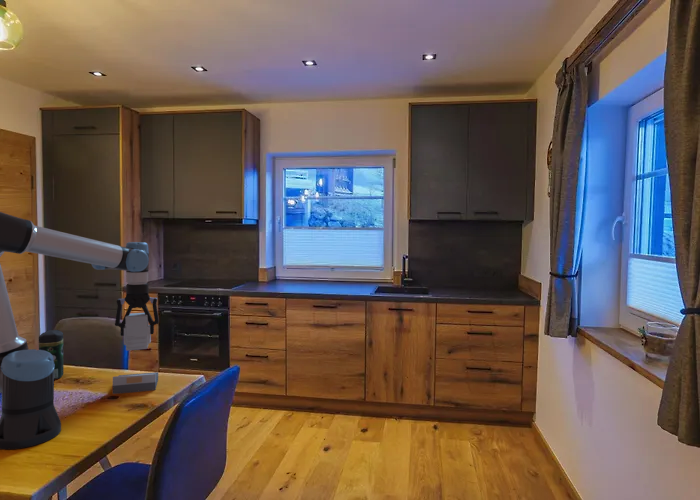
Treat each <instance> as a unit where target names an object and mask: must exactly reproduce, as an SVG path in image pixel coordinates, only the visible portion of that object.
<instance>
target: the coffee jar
mask: <svg viewBox="0 0 700 500" xmlns="http://www.w3.org/2000/svg"><path fill="white" fill-rule="evenodd" d="M38 350H44V351H47V352H49V353H51V354H52V356H53V359H54V364H55V368H54V380H57V379H61V378H62V377H63V375H64V332H63V331H61V330H59V329H51V330H50V329H49V330H46V331H45V332H42V333H40V335H39V336H38Z"/></svg>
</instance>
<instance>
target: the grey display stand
mask: <svg viewBox="0 0 700 500" xmlns="http://www.w3.org/2000/svg"><path fill="white" fill-rule="evenodd" d="M158 382H159V372H158V371H155V372H154V371H153V372H145V373H131V374H118V375H117V376H112V395H118V394H128V393H138V392H139V393H140V392H149V391H156V390H157V385H158Z"/></svg>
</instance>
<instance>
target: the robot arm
mask: <svg viewBox="0 0 700 500" xmlns="http://www.w3.org/2000/svg"><path fill="white" fill-rule="evenodd" d="M25 252H28V253H32V254H37V255H43V256H49V257H53V258H59V259H65V260H69V261H70V260H71V261H75V262H78V263H79V262H80V263H85V264H91V267H92V268H93V269H94V270H97V271H98V270H99V271H101V270H103V271H104V270H116V271H117V270H118V271H125V273H126V274H125V276H126V277H125V282H126V284H125V285H126V287H125V290H126V293H125V297H123V298H118V299H117V300H116V305H117V308H116V309H117V310H116V315H115V321H114V326H115V327H119V328H120V336H121V337H123V346H126V321H125V317H126V316H129V315H130V314H131V312H132V310H133V309H136V308H139V309H142V311H143V313H145V315H148V345H149V344H151V342H152V335H154V333H155V325H159V323H160V318H159V317H160V316H159V312H158V310H159V309H158V305H157V304H158V297H151V296H150V294H149V283H148V282H149V276H150V275H149V265H150V264H149V261H150V260H149V257H150V253H149V244H148V243H147V242H144V241H143V242H141V241H139V242H138V241H130V242H129V241H128V242H126V244H125V246H122V245H117V244H114V243H109V242H106V241H105V242H104V241H101V240H97V239H92V238H89V237H83V236H80V235H76V234H71V233H67V232H62V231H59V230H55V229H50V228H47V227H42V226H39V225H35V224H34V223H33V221H32V220H29V219H24V218H21V217H19V216H14V215H12V214H8V213H5V212H3V211H0V258H1V257H2V256H3V255H4V254H5V253H13V254H18V255H22V254H23V253H25ZM8 292H9V291H8V289H7V284H6V280H5V276H4V273H3V269H2V265H1V263H0V393H1V415H0V450H17V449H19V450H20V449H24V448H30V447H34V446H37V445H41V444H43V443H45V442H48V441H50V440H51V439H52V440H53V439H54V438H56V436H58V435H59V434H60V433H61V430H62V421H61V419H60V417H59V414H58V412H57V410H56V407H55V404H54V402H55V401H54V398H55V396H54V395H55V379H54V368H55V364H54V359H53V356H52V354H51V353H49V352H47V351H44V350H39V349H37V348H36V349H29V346H28V340H27V339H26V338H24V337H22V336H20V335H19V331H18V329H17V325H16V321H15V315H14V312H13V309H12V304H11V301H10V297H9V293H8ZM149 301H150V303H151V305H152V312H153V318H154V320H153V318H152V315H151V313H150V311H149V308H148V306H147V303H149ZM125 302H126V304H128V308H127V309H126V312H125V315H124V316H123V319H122V322H121V316H122V312H123V311H122V310H123V305H124V304H125Z"/></svg>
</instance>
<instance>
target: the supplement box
mask: <svg viewBox="0 0 700 500" xmlns="http://www.w3.org/2000/svg"><path fill="white" fill-rule="evenodd" d="M125 321H126V324H125V326H126V345H125V351H127V352H128V351H139V350H147V349H148V348H149V344H148V325H149V322H148V315H145V313H144V312H135V313H133V312H132V313H131V312H130V315H129V316H126V317H125Z"/></svg>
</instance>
